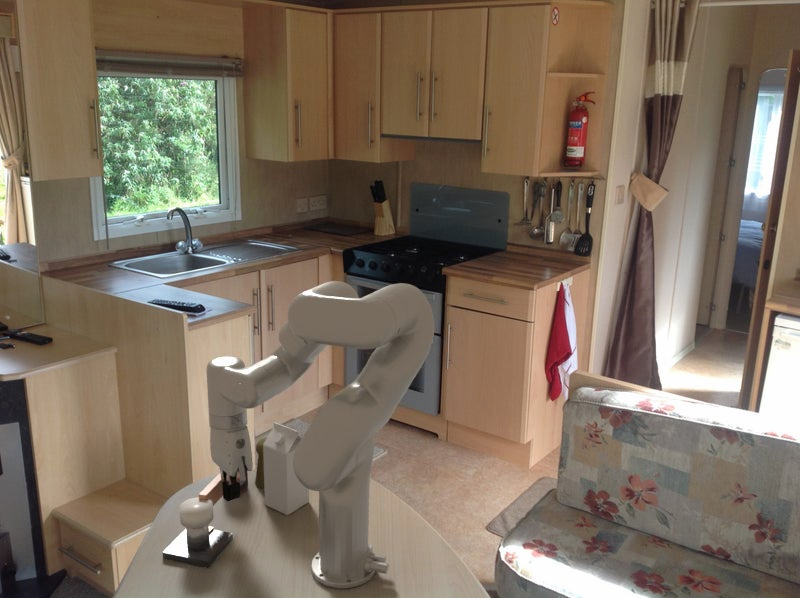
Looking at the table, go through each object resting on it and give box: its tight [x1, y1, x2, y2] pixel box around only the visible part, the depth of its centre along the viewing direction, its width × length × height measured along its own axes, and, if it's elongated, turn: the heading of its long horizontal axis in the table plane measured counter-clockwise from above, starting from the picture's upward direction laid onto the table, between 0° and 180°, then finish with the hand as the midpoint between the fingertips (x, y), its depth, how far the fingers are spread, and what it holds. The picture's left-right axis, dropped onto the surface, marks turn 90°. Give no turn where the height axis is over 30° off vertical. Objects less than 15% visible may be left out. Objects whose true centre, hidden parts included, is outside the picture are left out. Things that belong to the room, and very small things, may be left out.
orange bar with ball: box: [179, 472, 223, 528], centre depth 152 cm, size 16×6×4 cm, turn 166°
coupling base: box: [162, 523, 234, 569], centre depth 149 cm, size 10×10×6 cm
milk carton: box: [263, 421, 310, 516], centre depth 164 cm, size 7×7×19 cm
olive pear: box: [254, 437, 267, 490], centre depth 174 cm, size 6×6×11 cm
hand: (231, 497), depth 155 cm, fingers closed
